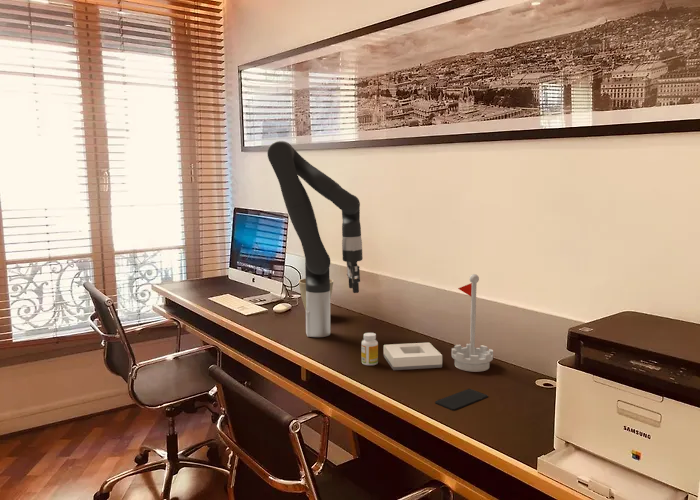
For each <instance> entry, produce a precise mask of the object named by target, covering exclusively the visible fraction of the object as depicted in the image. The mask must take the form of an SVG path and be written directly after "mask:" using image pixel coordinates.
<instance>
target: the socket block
mask: <svg viewBox="0 0 700 500" xmlns="http://www.w3.org/2000/svg"><path fill="white" fill-rule="evenodd" d="M383 357H384V359H385V360H386V362H387V363H388V365H389V366H390V367H391V369H392V370H393V371H402V370H417V369H418V370H422V369H435V368H437V369H438V368H443V354H441V352H440V351H439V350H437V349H436V348H435V347H434V346H433V345H432V343H430V342H417V343H416V342H413V343H412V342H411V343H410V342H409V343H393V344H384V345H383Z"/></svg>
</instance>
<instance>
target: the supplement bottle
mask: <svg viewBox="0 0 700 500" xmlns="http://www.w3.org/2000/svg"><path fill="white" fill-rule="evenodd" d="M376 338H377V334H376V333H374V332H365V333H363V339H362V340H361V346H360V347H361V363H362V364H361V365H364V366H375V365H378V363H379V342H378V340H377V339H376Z"/></svg>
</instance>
